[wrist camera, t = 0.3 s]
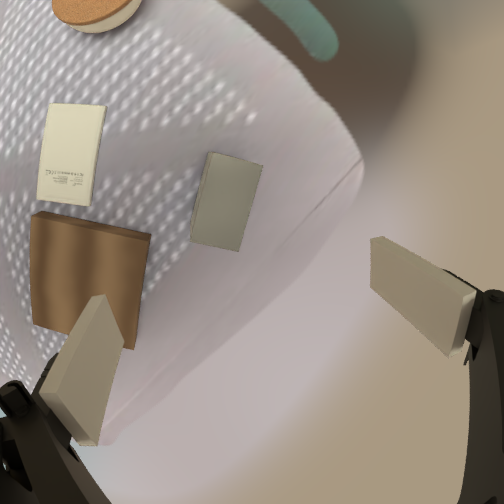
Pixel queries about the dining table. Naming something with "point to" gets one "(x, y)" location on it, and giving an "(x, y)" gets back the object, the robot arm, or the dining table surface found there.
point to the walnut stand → (85, 271)
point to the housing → (224, 201)
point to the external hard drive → (70, 153)
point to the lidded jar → (94, 13)
